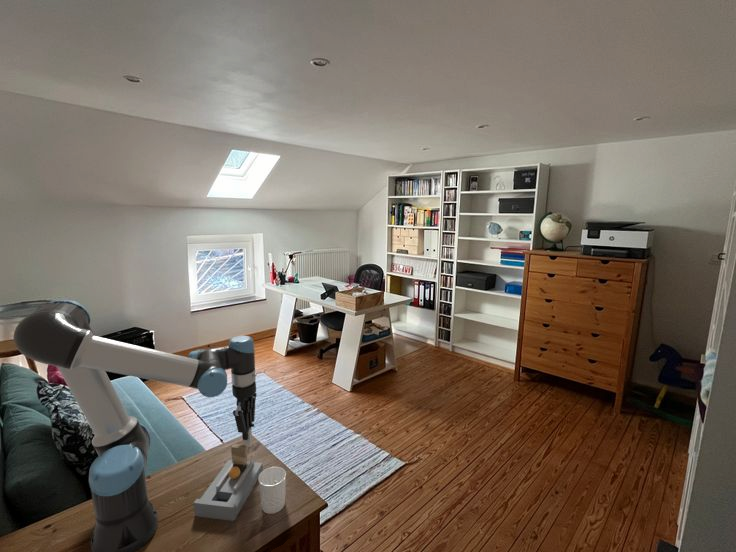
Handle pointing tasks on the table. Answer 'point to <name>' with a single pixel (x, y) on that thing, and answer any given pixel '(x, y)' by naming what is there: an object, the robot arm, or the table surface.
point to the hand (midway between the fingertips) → (247, 445)
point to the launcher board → (228, 492)
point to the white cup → (272, 489)
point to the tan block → (239, 456)
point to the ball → (234, 472)
